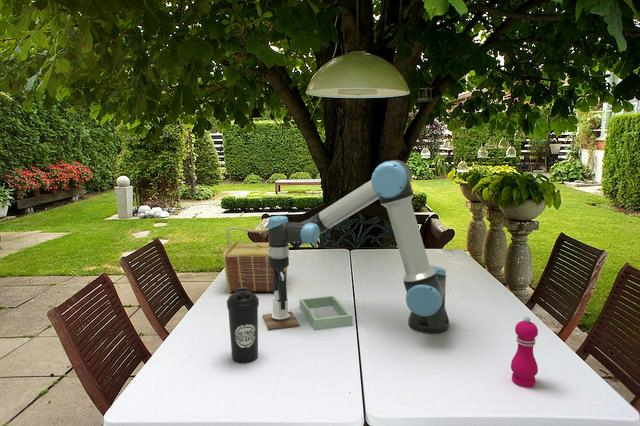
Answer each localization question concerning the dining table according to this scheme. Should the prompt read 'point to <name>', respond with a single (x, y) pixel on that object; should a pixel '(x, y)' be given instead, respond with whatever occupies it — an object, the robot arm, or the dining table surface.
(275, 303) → the downlight
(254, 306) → the water bottle
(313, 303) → the bin
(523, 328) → the pepper mill
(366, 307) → the dining table surface
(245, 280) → the picnic basket
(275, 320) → the pad
